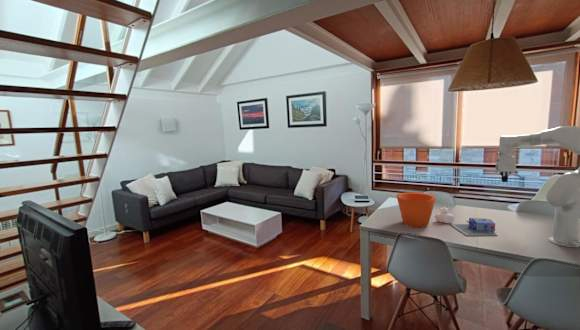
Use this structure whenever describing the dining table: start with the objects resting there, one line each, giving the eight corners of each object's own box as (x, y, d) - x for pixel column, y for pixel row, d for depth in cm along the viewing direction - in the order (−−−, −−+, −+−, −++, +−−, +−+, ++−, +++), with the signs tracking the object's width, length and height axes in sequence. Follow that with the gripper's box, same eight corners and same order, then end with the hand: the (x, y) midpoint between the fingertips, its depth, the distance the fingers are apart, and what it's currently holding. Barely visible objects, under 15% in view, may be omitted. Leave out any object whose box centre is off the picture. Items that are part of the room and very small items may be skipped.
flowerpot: (410, 231, 179) (411, 202, 176) (389, 220, 203) (389, 194, 201) (444, 227, 184) (444, 198, 181) (419, 216, 208) (419, 191, 206)
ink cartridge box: (495, 222, 171) (468, 222, 176) (495, 231, 172) (468, 230, 177) (490, 218, 180) (464, 217, 185) (490, 226, 181) (464, 225, 186)
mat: (497, 236, 166) (497, 235, 166) (466, 236, 168) (466, 235, 168) (477, 224, 186) (477, 223, 186) (449, 225, 188) (450, 224, 188)
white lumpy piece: (454, 225, 192) (453, 210, 197) (455, 222, 186) (454, 206, 191) (434, 223, 198) (434, 209, 203) (435, 220, 192) (435, 205, 197)
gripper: (497, 155, 177) (496, 183, 179) (522, 154, 176) (520, 182, 178) (490, 154, 184) (489, 181, 187) (513, 153, 183) (512, 180, 185)
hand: (504, 181), depth 182 cm, fingers closed
